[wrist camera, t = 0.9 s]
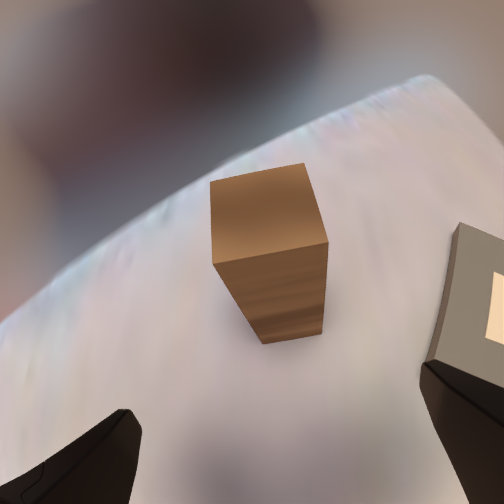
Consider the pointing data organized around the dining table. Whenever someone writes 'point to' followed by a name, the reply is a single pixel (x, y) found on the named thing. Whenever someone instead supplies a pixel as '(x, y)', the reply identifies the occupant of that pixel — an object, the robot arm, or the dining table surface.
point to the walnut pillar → (271, 250)
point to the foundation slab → (473, 307)
